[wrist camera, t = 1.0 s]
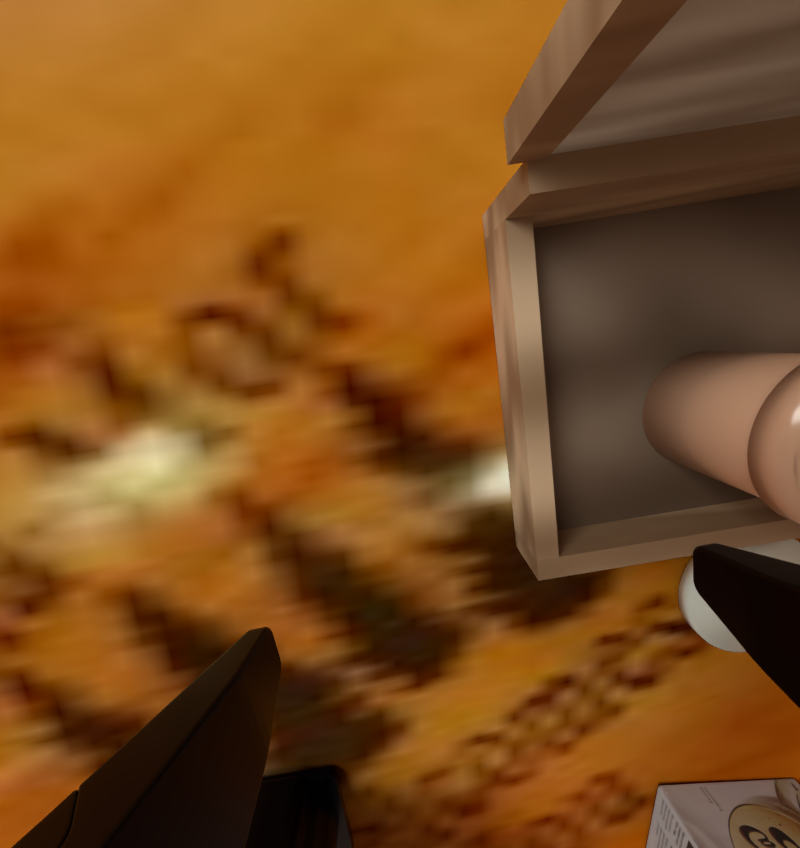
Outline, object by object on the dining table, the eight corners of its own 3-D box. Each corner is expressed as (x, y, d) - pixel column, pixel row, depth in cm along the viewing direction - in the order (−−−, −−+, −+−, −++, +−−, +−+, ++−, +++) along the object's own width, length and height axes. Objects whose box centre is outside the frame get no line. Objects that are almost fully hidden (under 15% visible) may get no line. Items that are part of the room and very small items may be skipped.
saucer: (800, 630, 22) (815, 640, 21) (678, 650, 22) (689, 661, 21) (807, 516, 21) (824, 523, 20) (677, 537, 21) (688, 545, 20)
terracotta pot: (759, 459, 19) (966, 524, 12) (637, 479, 19) (779, 555, 12) (763, 334, 18) (998, 329, 11) (634, 355, 18) (788, 363, 11)
